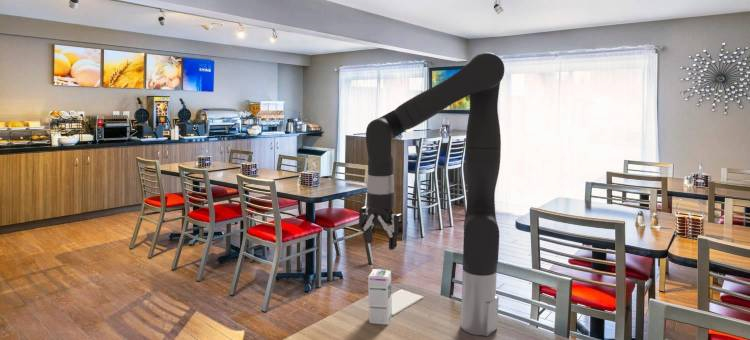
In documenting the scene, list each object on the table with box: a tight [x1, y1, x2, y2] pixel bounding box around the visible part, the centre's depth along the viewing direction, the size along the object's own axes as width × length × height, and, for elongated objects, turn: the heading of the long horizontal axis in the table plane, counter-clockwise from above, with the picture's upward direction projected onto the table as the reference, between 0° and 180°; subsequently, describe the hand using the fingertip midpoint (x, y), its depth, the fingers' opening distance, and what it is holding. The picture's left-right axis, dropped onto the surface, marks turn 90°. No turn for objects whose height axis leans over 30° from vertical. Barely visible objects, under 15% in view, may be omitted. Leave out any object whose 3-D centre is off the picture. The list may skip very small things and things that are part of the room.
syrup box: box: [367, 268, 393, 326], centre depth 136 cm, size 6×6×14 cm
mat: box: [391, 288, 425, 317], centre depth 148 cm, size 9×16×1 cm, turn 140°
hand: (380, 246), depth 133 cm, fingers open, 8 cm apart
